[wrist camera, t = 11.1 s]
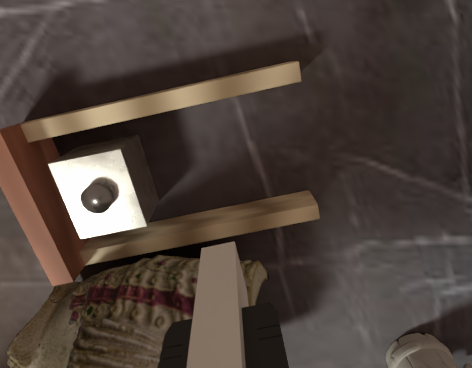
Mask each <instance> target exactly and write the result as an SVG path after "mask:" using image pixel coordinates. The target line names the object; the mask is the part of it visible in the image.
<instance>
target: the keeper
mask: <svg viewBox="0 0 472 368" xmlns="http://www.w3.org/2000/svg"><path fill="white" fill-rule="evenodd" d="M48 166H49V168H50V170H51V172H52V175H53V177H54V179H55V182H56V184H57V186H58V188H59V191H60V193H61V195H62V198H63V200H64V202H65V204H66V207H67V209H68V211H69V214H70V216H71V218H72V220H73V223H74V225H75V227H76V230H77V232H78V234H79V237H80V239H82V238H88V237H93V236H98V235H104V234H109V233H114V232H119V231H125V230H130V229H135V228H141V227H146V226H147V225H148V223H149V221H150V219H151V217H152V215H153V213H154V211H155V209H156V207H157V205H158V202H159V198H158V195H157V191H156V188H155V185H154V182H153V179H152V176H151V172H150V169H149V166H148V163H147V160H146V157H145V153H144V150H143V147H142V144H141V141H140V138H139V134H137V135H132V136H127V137H123V138H118V139H113V140H108V141H103V142H98V143H93V144H88V145H84V146H79V147H76V148H75V149H73V150H71V151H69V152H68V153H66V154H64V155H63V156H61V157H59V158H57V159H56V160H54V161H52V162H51V163H49V164H48Z"/></svg>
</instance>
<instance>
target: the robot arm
mask: <svg viewBox="0 0 472 368" xmlns="http://www.w3.org/2000/svg"><path fill="white" fill-rule="evenodd" d="M159 360H160V361H159V363H158V367H157V368H289V366H288V361H287V356H286V352H285V347H284V342H283V338H282V333H281V328H280V324H279V319H278V314H277V311H276V310H275V309H274V308H273V307H272V305H271V304H270V303H264V304H258V305H253V306H249V305H248V295H247V289H246V285H245V281H244V277H243V273H242V269H241V265H240V261H239V257H238V253H237V248H236V244H235V241H234V242H229V243H224V244H219V245H214V246H210V247H205V248H201V256H200V264H199V272H198V280H197V288H196V296H195V304H194V312H193V318H192V319H187V320H182V321H177V322H173V323H172V324H171V326H170V327H169V329H168V330H167V332H166V334H165V336H164V340H163V345H162V351H161V354H160V358H159Z"/></svg>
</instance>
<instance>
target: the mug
mask: <svg viewBox="0 0 472 368" xmlns="http://www.w3.org/2000/svg"><path fill="white" fill-rule="evenodd" d="M386 362H387V364H388V368H457V367H456V365H455V364H454V361H453V356H452V354H451V353H450V351H449V349H448V348H447V347H446V346H445V345H444V344H442V343H441V342H439V341H438V340H437V339H436V338H435V337H434V336H432V335H430V334H426V333H425V334H424V335H422V334H420V333H413V334H408V335H405V336H403V337H401V338H399V341H395V342H393V343H392V344H391V346H390V347H389V349H388V350H387V353H386ZM463 368H472V366H471V365H470V364H465V365H464V367H463Z"/></svg>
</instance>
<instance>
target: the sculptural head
mask: <svg viewBox="0 0 472 368" xmlns="http://www.w3.org/2000/svg"><path fill="white" fill-rule="evenodd" d="M239 261H240V260H239ZM199 264H200V259H197V258H185V257H178V256H162V255H157V256H155V257H154V258H152V259H150V258H143V259H141V260H140V261H138V262H136V263H133V264H132V265H123V266H121V267H115V268H111V269H108V270H105V271H103V272H101V273H98V274H96V275H92V276H91V277H89V278H87V279H86V280H84V281H82V282H76V281H74V282H71V283H66V284H61V285H56V286H55V287H54V289H53V292H52V293H51V294H50V296H49V298H48V300H47V301H46V302H45V303H44V304H43V306H42V308H41V309H40V310H39V311H38V313H37V314H36V315H35V316H34V317H33V318H32V319H31V320H30V321H29V323H27V324H26V326H25V327H24V328H23V329H22V330H21V331H20V332H19V333H18V334H17V336H16V337H15V339H14V340H13V341H12V343H11V344H10V345H9V348H8V350H7V355H8V360H7V364H8V365H9V366H10V368H157V367H158V363H159V361H160V360H159V358H160V354H161V351H162V345H163V340H164V336H165V334H166V332H167V330H168V329H169V327H170V326H171V324H172V323H173V322H177V321H182V320H187V319H192V318H193V312H194V304H195V296H196V288H197V280H198V272H199ZM240 265H241V269H242V273H243V277H244V281H245V285H246V289H247V295H248V305H249V306H253V305H256V300H257V296H258V295H259V293H258V292H259V291H260V287H261V285H262V283H263V282H264V281H265V280H269V275H268V272H267V268H266V269H265V268H263V266H262V264H261V263H260V262H259V261H257V260H255V261H251V260H244V261H240Z"/></svg>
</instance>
